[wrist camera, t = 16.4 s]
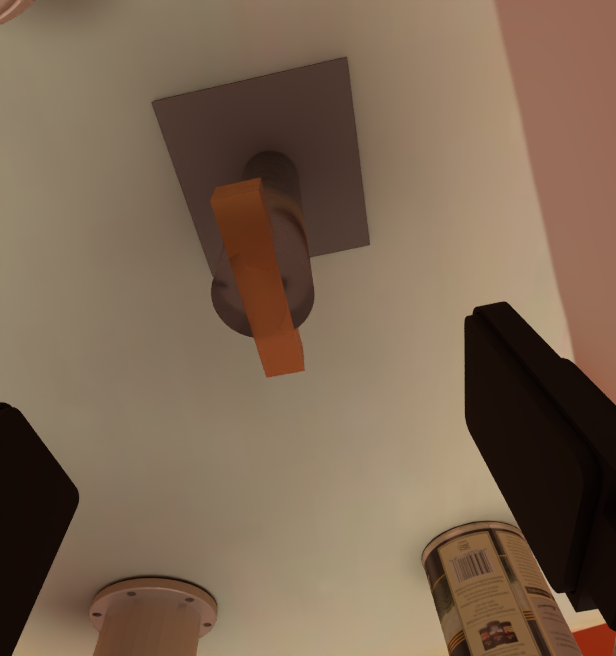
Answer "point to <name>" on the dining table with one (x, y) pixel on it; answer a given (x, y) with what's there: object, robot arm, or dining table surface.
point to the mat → (272, 149)
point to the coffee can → (494, 595)
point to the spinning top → (12, 8)
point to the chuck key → (264, 260)
